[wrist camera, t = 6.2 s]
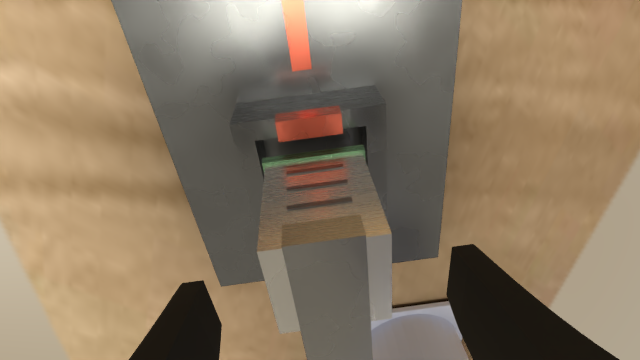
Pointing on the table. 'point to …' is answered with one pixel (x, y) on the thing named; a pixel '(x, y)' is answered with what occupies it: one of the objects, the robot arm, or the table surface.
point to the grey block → (325, 250)
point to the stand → (299, 105)
